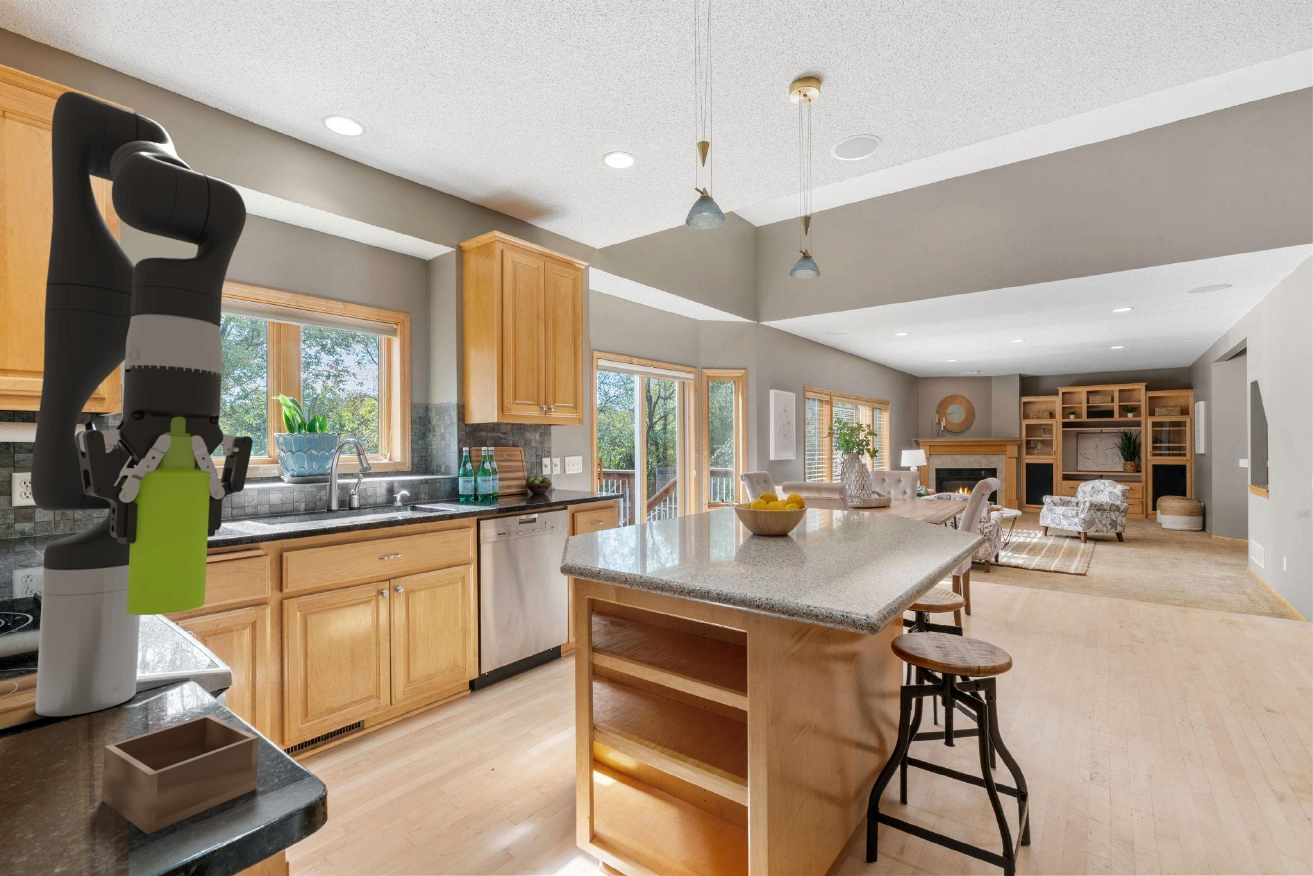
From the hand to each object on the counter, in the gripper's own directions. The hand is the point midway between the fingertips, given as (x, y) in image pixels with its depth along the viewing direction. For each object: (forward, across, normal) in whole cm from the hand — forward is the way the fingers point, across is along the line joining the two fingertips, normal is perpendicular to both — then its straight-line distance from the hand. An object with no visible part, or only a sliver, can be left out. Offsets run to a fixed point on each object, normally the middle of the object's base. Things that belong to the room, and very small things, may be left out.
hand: (167, 538), depth 60 cm
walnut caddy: (+23, 0, +4) cm, 24 cm away
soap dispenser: (+7, 0, 0) cm, 7 cm away
